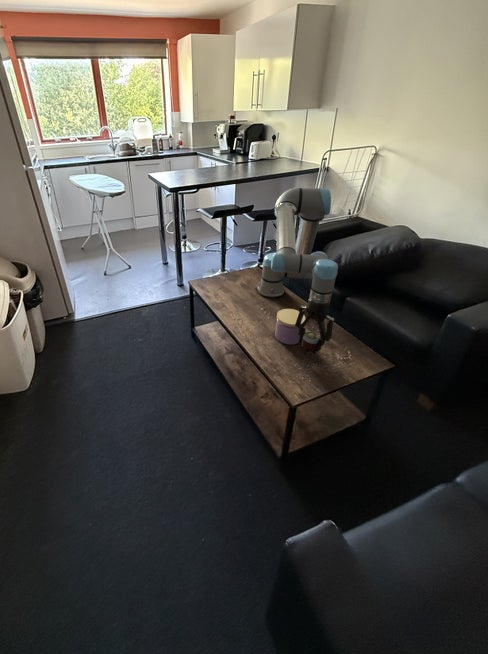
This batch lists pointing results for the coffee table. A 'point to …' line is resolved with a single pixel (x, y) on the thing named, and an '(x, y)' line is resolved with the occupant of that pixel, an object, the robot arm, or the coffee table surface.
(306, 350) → the mate gourd
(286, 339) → the jar
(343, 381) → the coffee table surface
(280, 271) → the robot arm
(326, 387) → the coffee table surface
